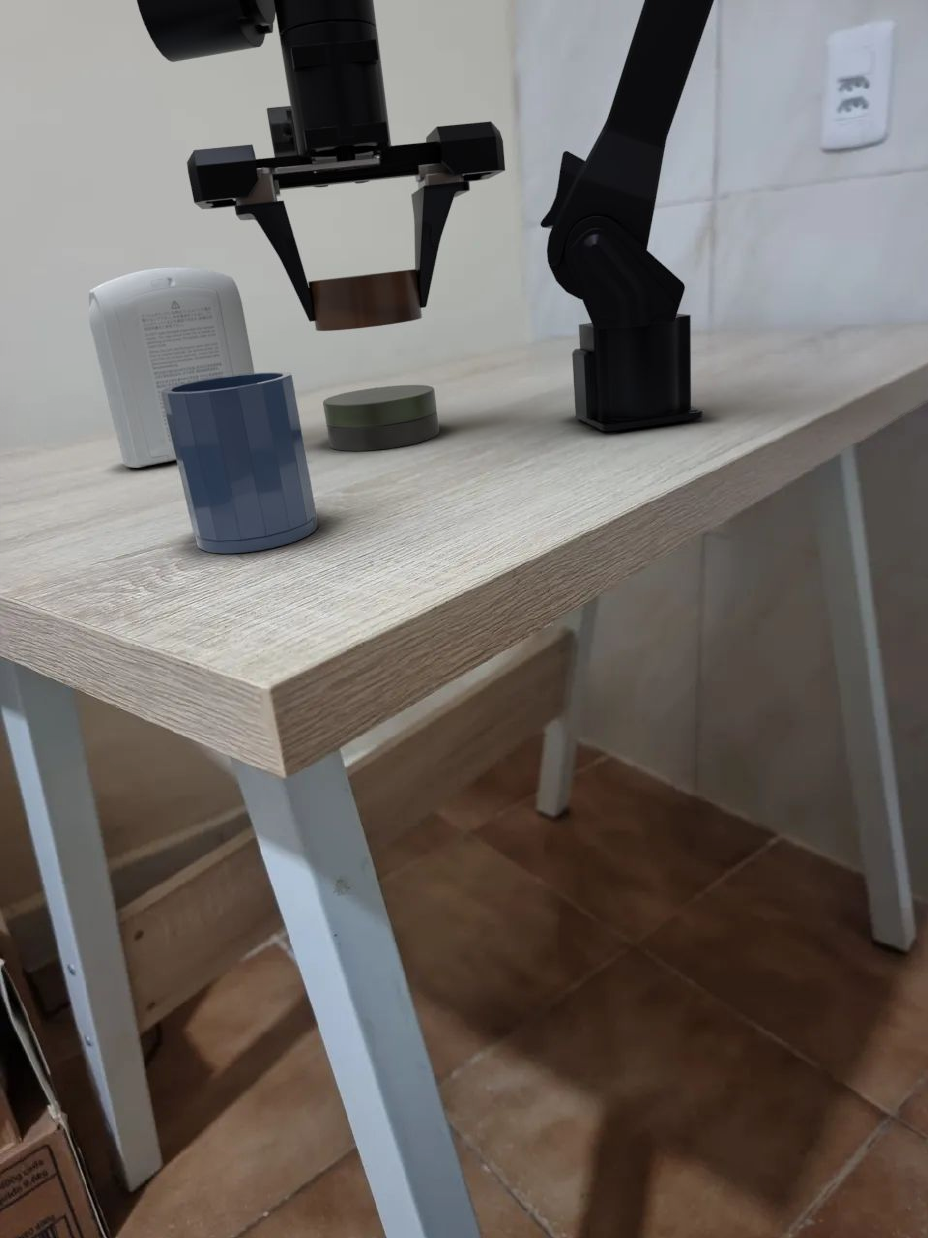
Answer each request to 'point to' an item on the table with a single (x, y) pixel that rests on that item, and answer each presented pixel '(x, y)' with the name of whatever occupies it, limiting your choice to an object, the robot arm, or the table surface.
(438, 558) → the table surface
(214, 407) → the blue cup
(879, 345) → the table surface
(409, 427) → the green and grey disc
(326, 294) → the walnut chip
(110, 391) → the photo printer
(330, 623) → the table surface
